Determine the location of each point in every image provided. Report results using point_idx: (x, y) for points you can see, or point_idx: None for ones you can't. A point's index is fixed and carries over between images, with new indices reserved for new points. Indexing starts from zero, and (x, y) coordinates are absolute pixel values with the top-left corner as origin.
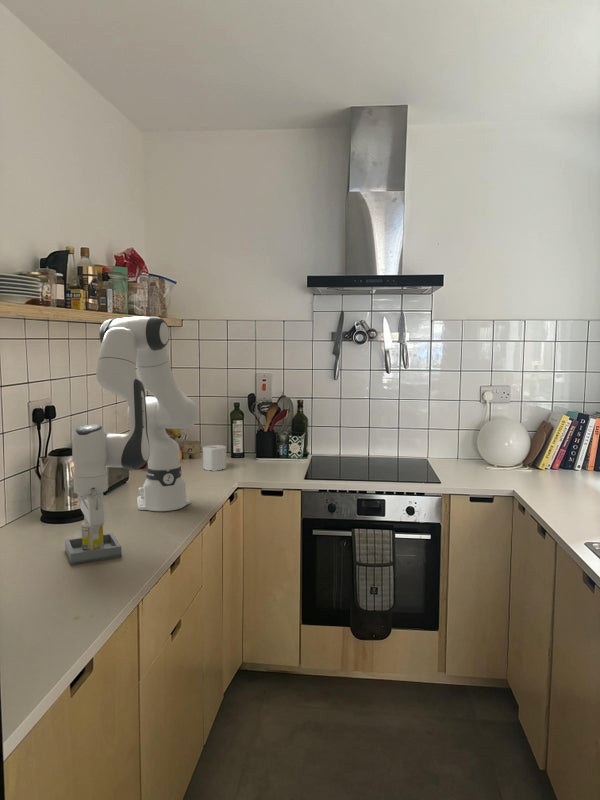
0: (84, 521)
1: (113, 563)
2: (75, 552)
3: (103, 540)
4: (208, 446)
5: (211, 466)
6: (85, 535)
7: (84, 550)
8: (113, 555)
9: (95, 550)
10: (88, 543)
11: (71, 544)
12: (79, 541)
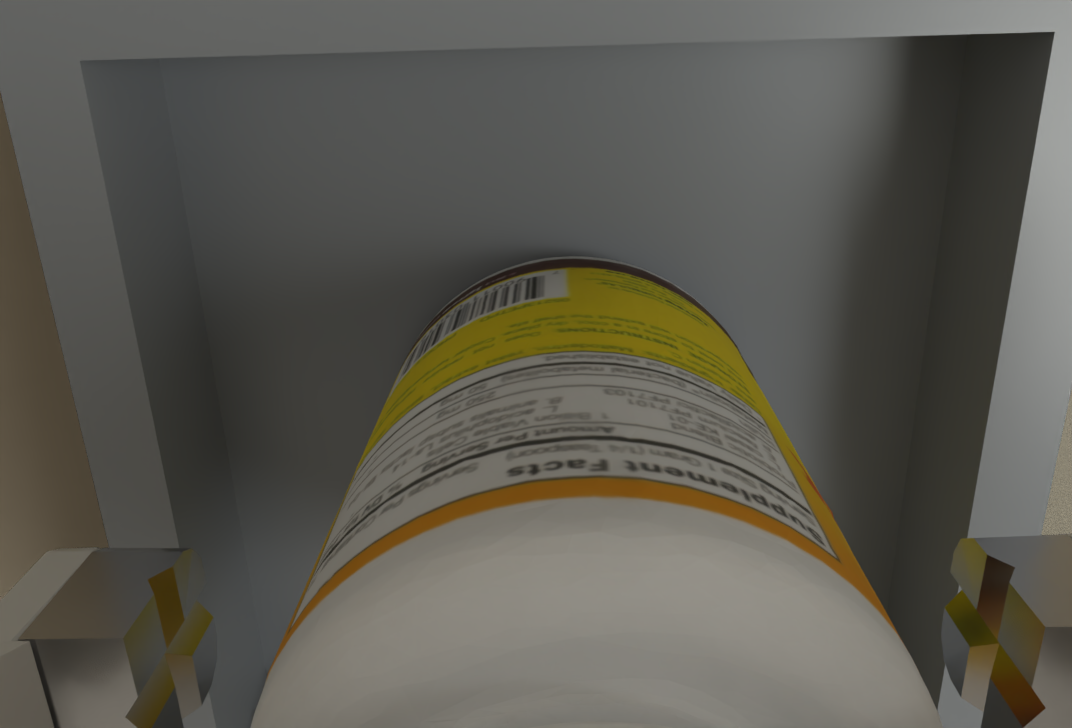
0: (712, 681)
1: (14, 582)
2: (51, 89)
3: (902, 624)
4: None
5: None
6: (388, 442)
7: (479, 282)
8: None
9: (90, 468)
10: (385, 409)
11: (987, 76)
12: (985, 251)
